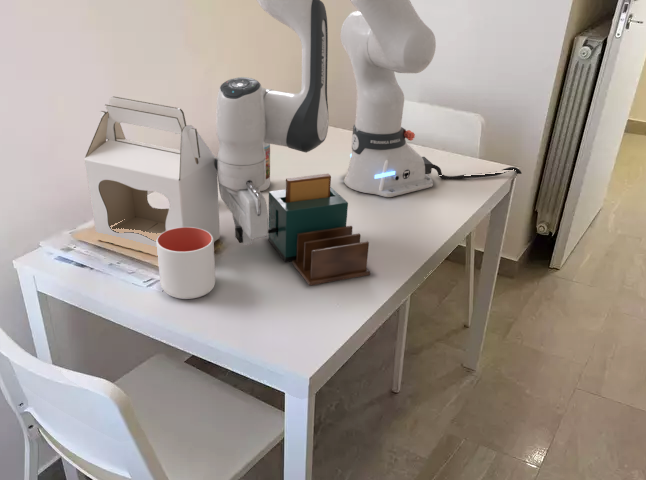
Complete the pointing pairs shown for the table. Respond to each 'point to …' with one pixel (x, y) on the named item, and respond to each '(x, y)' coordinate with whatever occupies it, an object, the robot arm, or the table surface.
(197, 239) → the cup
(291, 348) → the table surface
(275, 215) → the toaster
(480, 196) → the table surface
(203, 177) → the gable box
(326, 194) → the toast
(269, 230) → the carriage
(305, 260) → the toast rack
